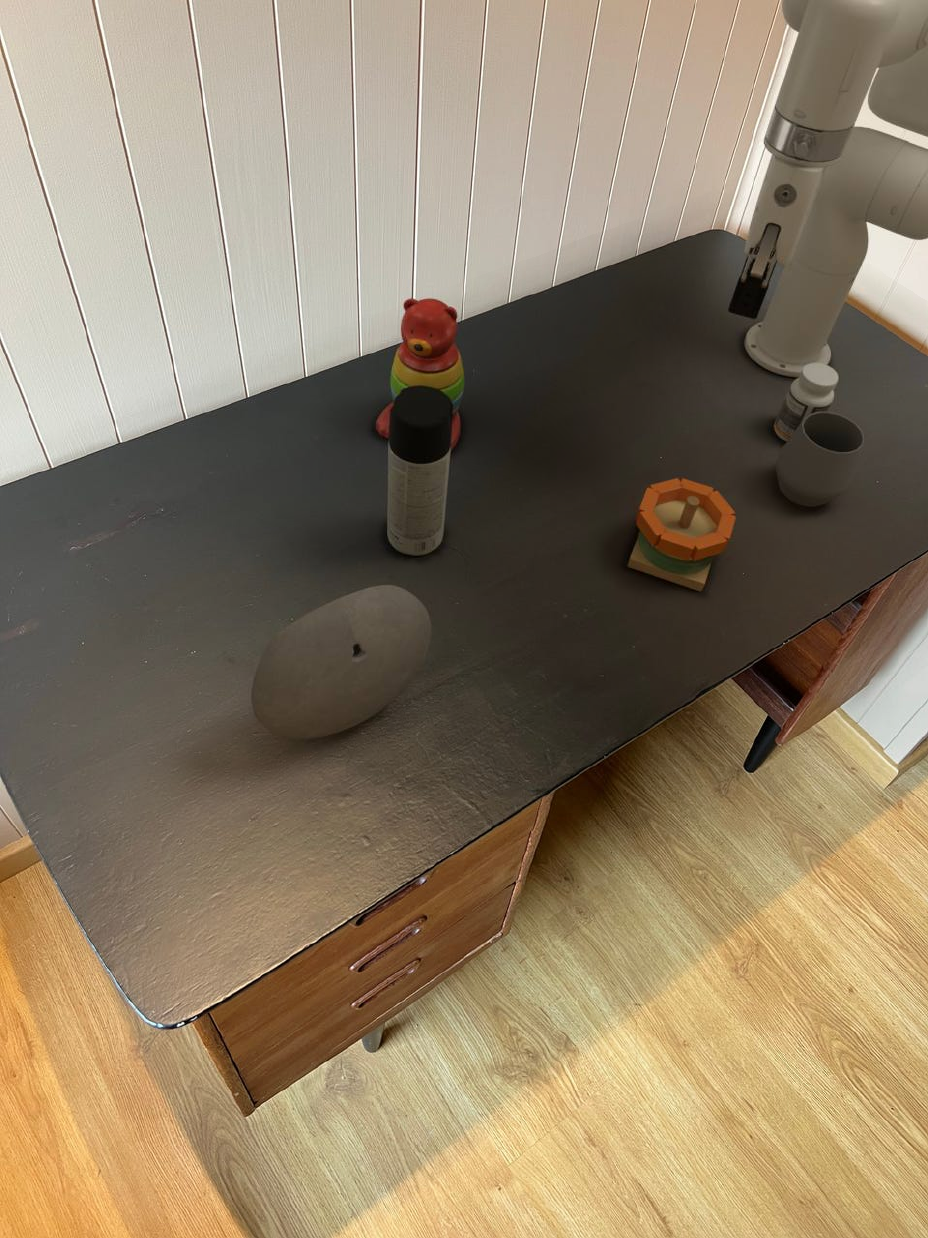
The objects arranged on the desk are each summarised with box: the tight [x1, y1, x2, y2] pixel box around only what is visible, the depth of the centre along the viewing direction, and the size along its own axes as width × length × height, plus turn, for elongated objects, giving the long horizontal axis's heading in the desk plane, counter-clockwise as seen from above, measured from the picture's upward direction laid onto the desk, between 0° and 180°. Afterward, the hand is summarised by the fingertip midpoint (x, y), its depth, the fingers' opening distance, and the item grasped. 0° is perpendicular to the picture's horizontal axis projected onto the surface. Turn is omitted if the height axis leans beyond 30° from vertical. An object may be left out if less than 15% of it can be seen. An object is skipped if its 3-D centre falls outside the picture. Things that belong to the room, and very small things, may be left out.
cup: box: [775, 411, 866, 508], centre depth 114 cm, size 10×9×10 cm
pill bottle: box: [773, 363, 839, 443], centre depth 121 cm, size 6×6×10 cm
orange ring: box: [635, 477, 737, 561], centre depth 105 cm, size 11×11×2 cm
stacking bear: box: [375, 297, 466, 452], centre depth 113 cm, size 11×10×18 cm
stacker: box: [627, 496, 717, 593], centre depth 106 cm, size 9×9×9 cm
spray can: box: [386, 385, 453, 557], centre depth 100 cm, size 7×7×20 cm
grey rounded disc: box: [250, 584, 432, 740], centre depth 85 cm, size 18×7×19 cm, turn 123°
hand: (747, 300), depth 101 cm, fingers open, 4 cm apart
